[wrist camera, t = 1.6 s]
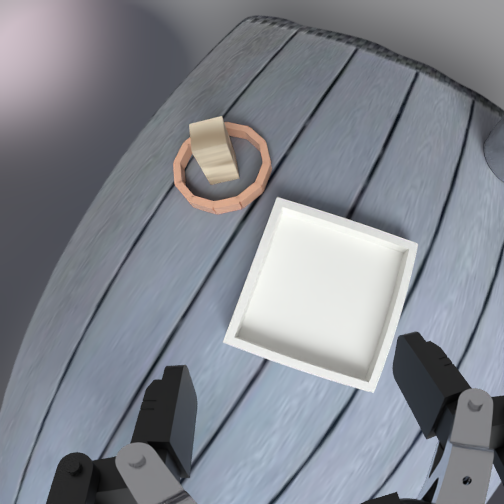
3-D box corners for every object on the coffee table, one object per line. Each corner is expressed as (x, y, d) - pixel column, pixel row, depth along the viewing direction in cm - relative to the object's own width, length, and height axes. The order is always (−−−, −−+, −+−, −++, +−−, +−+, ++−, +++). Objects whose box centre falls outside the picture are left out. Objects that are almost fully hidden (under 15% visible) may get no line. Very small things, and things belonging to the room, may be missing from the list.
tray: (278, 206, 41) (277, 197, 38) (410, 249, 37) (418, 243, 34) (228, 341, 38) (222, 342, 35) (367, 388, 34) (373, 392, 31)
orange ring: (200, 124, 46) (197, 116, 44) (282, 141, 43) (282, 134, 41) (164, 198, 43) (158, 193, 41) (250, 225, 41) (248, 219, 39)
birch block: (207, 160, 44) (189, 124, 35) (235, 154, 44) (222, 116, 35) (210, 184, 43) (191, 151, 34) (239, 178, 43) (226, 142, 34)
